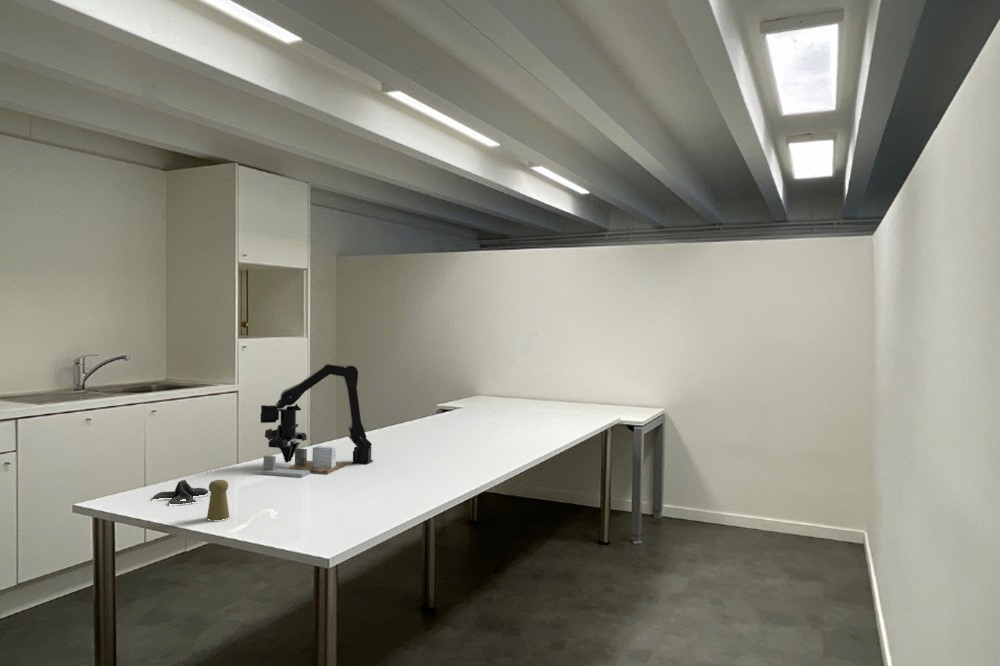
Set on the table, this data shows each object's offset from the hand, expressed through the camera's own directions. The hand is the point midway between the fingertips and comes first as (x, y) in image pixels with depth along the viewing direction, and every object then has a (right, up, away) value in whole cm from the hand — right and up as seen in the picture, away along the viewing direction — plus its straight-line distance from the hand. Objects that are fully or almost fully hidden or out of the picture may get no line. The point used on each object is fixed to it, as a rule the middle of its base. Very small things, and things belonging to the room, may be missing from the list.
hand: (287, 461), depth 265 cm
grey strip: (+3, -2, -13) cm, 13 cm away
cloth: (-18, -3, -45) cm, 49 cm away
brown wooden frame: (+12, -2, -3) cm, 12 cm away
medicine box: (+15, -2, -4) cm, 16 cm away
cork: (+1, -4, -68) cm, 68 cm away
